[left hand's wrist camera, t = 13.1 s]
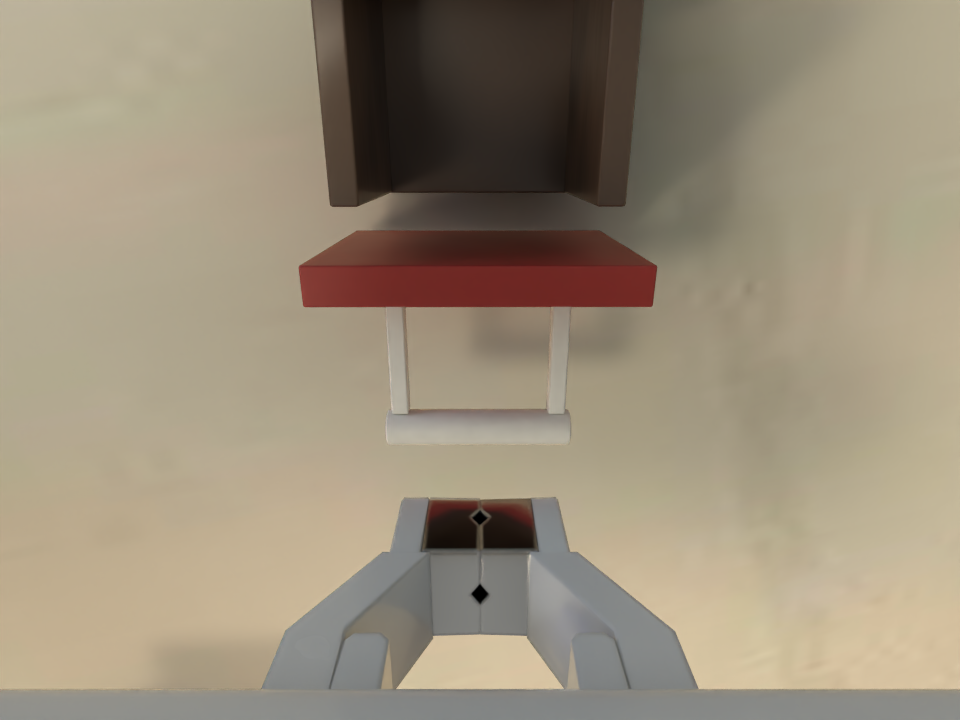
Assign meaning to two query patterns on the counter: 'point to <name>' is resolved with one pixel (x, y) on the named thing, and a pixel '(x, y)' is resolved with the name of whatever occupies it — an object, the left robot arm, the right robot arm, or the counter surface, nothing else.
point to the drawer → (477, 174)
